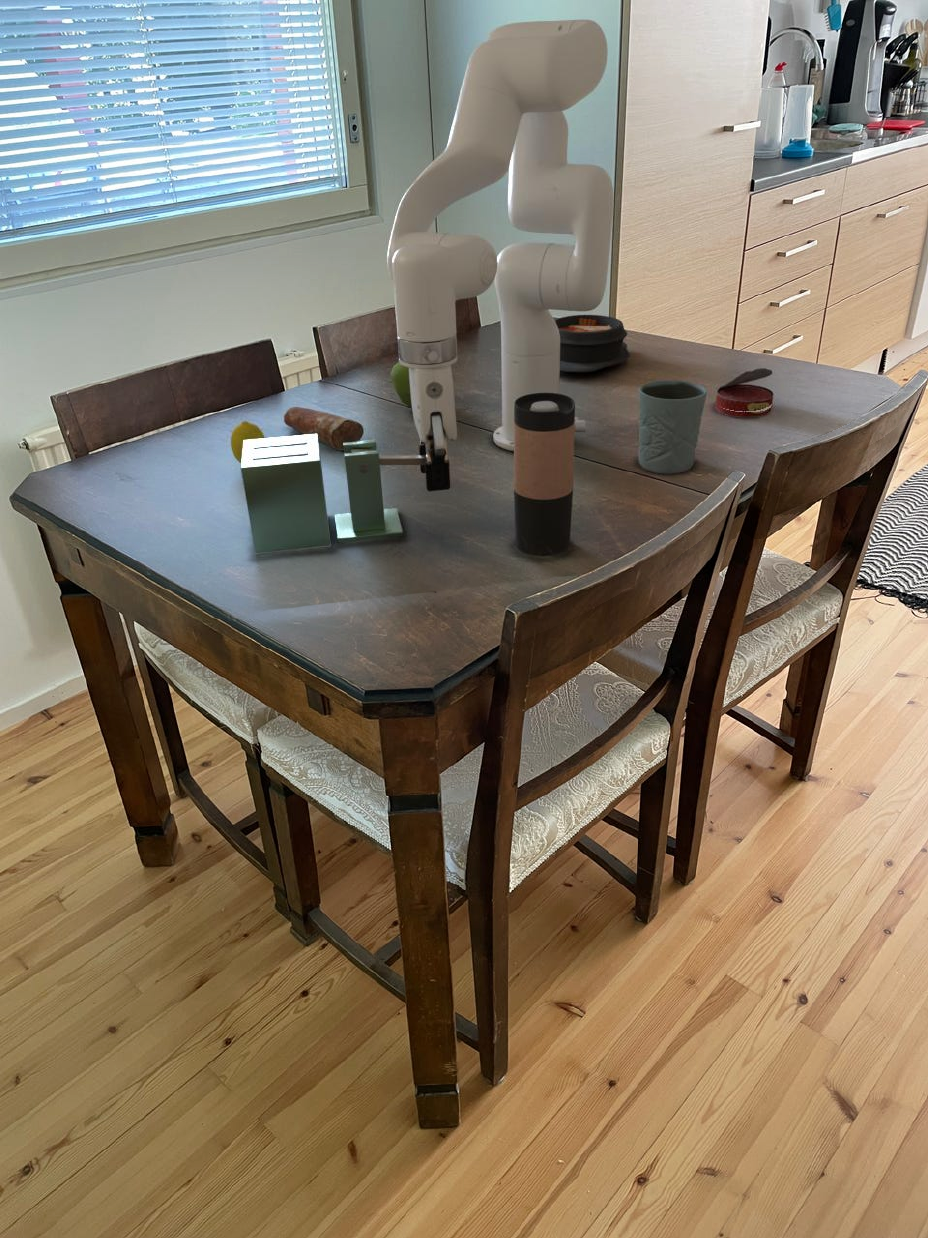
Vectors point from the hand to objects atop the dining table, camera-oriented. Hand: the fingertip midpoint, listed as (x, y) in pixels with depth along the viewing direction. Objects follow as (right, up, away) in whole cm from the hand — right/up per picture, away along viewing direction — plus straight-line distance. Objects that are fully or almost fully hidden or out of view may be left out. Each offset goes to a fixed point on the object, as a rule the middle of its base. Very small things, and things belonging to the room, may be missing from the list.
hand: (435, 479), depth 128 cm
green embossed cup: (+36, +5, +20) cm, 42 cm away
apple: (-4, +20, +47) cm, 51 cm away
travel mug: (+15, -10, -4) cm, 18 cm away
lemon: (-31, +5, +24) cm, 39 cm away
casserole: (+30, +34, +67) cm, 81 cm away
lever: (-5, +1, -2) cm, 6 cm away
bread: (-21, +12, +34) cm, 42 cm away
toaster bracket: (-9, -7, +2) cm, 12 cm away
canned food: (+55, +19, +40) cm, 70 cm away
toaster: (-20, -8, +1) cm, 21 cm away
